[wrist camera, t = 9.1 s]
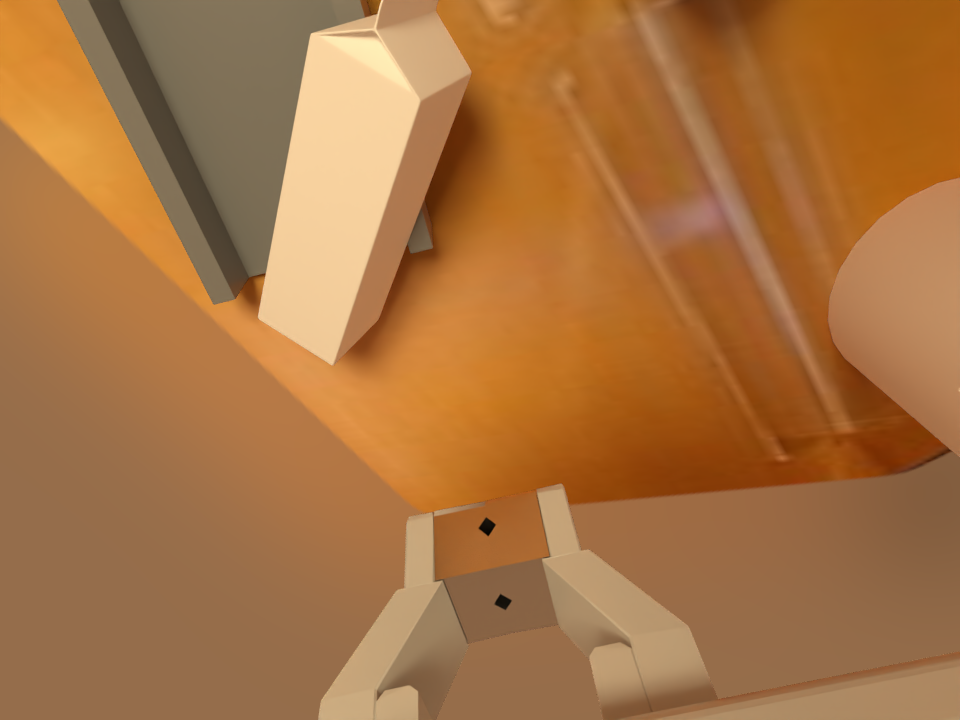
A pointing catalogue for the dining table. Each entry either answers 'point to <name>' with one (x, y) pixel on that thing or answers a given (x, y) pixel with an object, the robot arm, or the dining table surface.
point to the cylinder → (907, 308)
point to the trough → (212, 113)
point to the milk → (359, 170)
